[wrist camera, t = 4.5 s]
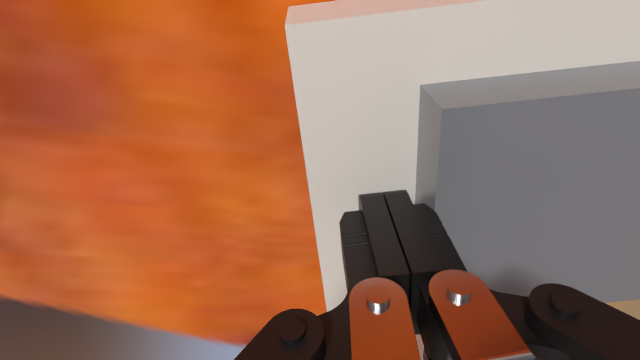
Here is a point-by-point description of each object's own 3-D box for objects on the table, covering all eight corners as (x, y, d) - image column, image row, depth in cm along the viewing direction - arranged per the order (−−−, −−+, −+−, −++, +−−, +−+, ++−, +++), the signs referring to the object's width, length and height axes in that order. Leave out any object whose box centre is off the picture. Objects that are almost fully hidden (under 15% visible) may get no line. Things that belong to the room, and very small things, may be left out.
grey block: (695, 54, 11) (769, 73, 9) (610, 258, 15) (650, 297, 13) (420, 84, 11) (442, 109, 9) (411, 279, 15) (425, 320, 13)
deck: (743, -51, 13) (900, -51, 10) (631, 221, 19) (702, 278, 16) (288, 6, 13) (284, 25, 10) (323, 256, 20) (328, 320, 16)
